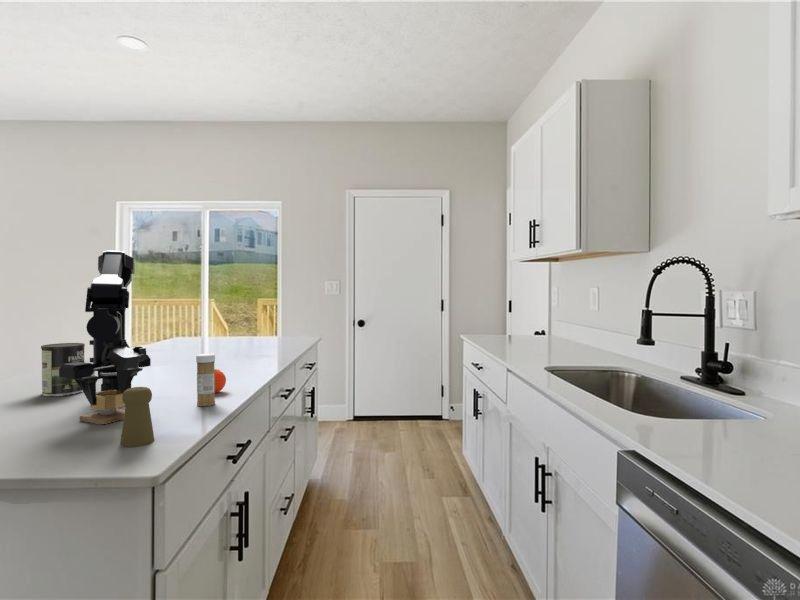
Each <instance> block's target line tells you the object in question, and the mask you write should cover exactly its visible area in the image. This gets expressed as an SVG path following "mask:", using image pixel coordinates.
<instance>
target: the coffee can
mask: <svg viewBox="0 0 800 600" xmlns="http://www.w3.org/2000/svg"><path fill="white" fill-rule="evenodd" d="M85 347H86V344H85V343H82V342H64V343H61V342H60V343H49V344H43V345H41V346H40V349H41V396H42V397H49V396H53V397H62V396H61V395H67V396H70V395H69V394H73V395H76V394H75V393H78V394H80V393H79V392H82V389H81V388H80V386H79V385H78V384H77V382H76V381H75V380H74V379H70V378H65V377H59V369H60V367H61V366H62V364H67V363H74V362H84V363H85ZM82 393H83V392H82Z"/></svg>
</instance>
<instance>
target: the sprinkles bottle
mask: <svg viewBox="0 0 800 600" xmlns="http://www.w3.org/2000/svg"><path fill="white" fill-rule="evenodd" d="M195 360H196V361H195V362H196V394H197V396H196V397H197V398H196V399H197V402H196V405H197V406H198V407H210V406H213V405H215V404H216V400H215V398H216V396H215V395H216V393H215V373H214V369H215V362H216V354H215V353H200V354H196V358H195Z"/></svg>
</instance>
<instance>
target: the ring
mask: <svg viewBox="0 0 800 600" xmlns="http://www.w3.org/2000/svg"><path fill="white" fill-rule="evenodd" d="M123 393H124V390H107V391H101V390H100V391H96V403H95V405H94V406H93V405H90V406H89V407H90V409H91V410H95V411H100V410H107V409H115V408H118V409H120V408H123V407H124V406H126V405H125V404H124V403H123V400H122V396H123ZM106 395H107V396H106Z"/></svg>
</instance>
